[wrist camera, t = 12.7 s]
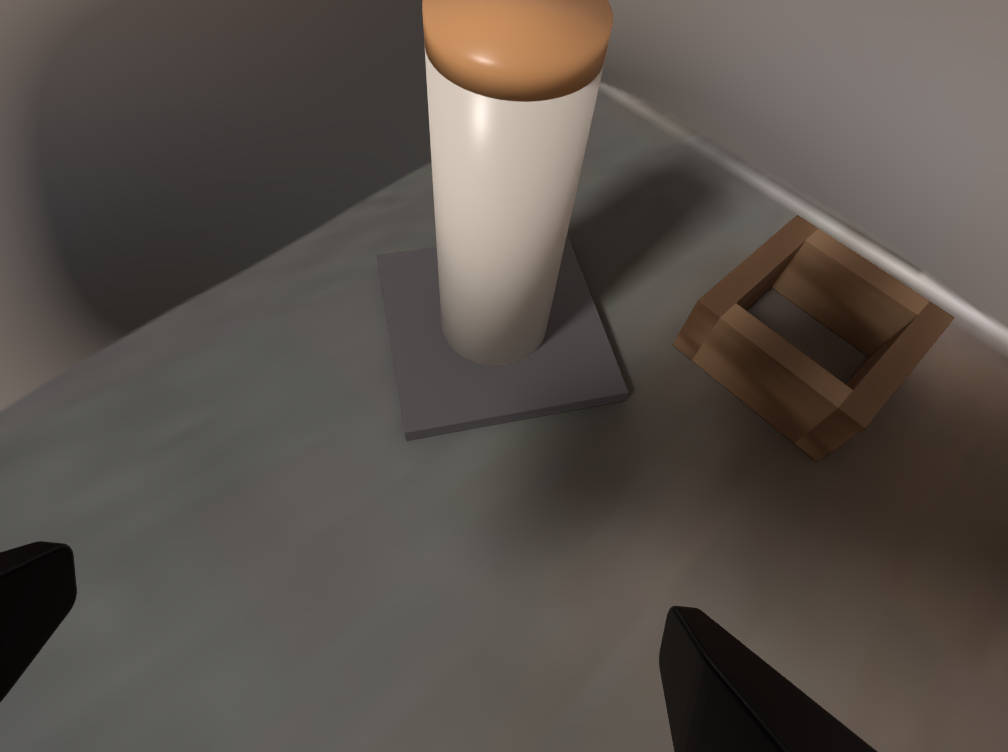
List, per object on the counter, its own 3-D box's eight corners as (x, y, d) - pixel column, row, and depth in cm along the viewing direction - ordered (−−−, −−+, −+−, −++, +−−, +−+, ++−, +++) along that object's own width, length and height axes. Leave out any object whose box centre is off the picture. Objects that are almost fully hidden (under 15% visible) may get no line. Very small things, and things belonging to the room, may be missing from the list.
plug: (558, 356, 26) (639, 55, 14) (451, 374, 25) (440, 71, 13) (531, 273, 29) (581, -44, 16) (433, 287, 28) (409, -36, 16)
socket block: (902, 359, 28) (954, 317, 25) (817, 462, 25) (865, 428, 22) (765, 262, 31) (797, 214, 28) (672, 344, 28) (698, 300, 25)
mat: (624, 400, 26) (628, 392, 25) (406, 440, 24) (404, 433, 24) (564, 241, 31) (566, 230, 30) (378, 265, 29) (376, 254, 29)
